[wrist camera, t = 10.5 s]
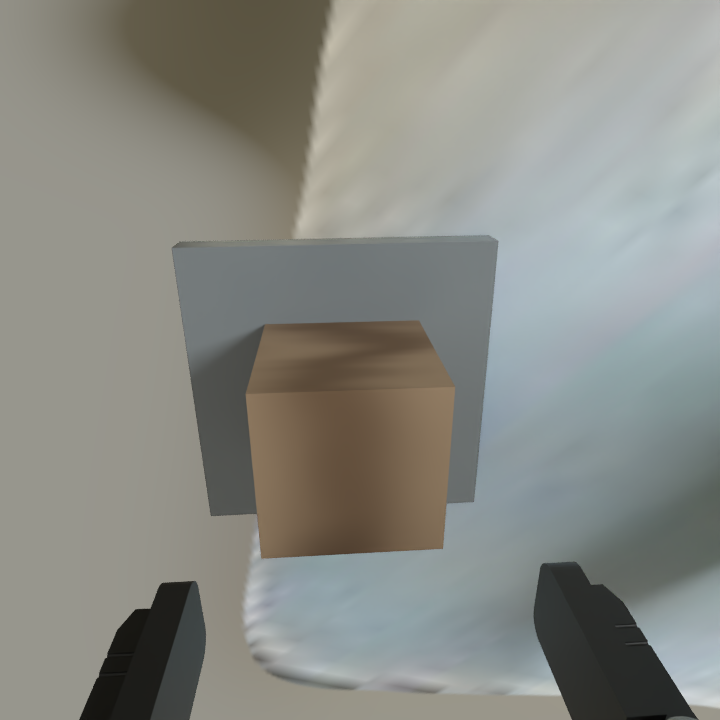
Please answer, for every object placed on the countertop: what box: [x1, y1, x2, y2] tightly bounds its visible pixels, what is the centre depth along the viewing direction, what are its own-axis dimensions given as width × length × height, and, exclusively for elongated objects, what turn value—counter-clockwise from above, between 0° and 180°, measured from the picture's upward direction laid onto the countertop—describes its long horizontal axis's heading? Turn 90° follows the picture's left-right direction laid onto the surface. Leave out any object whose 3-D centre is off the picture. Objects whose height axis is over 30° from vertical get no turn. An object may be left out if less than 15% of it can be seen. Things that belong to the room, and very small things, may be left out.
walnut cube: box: [246, 320, 455, 559], centre depth 19 cm, size 6×6×6 cm
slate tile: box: [172, 235, 498, 516], centre depth 22 cm, size 12×12×1 cm
